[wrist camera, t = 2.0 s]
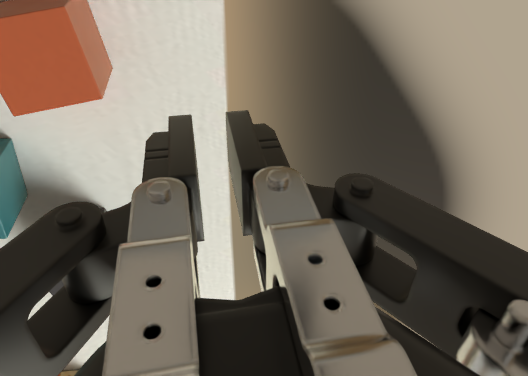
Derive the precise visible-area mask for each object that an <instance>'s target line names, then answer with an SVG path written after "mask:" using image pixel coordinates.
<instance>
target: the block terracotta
mask: <svg viewBox="0 0 528 376" xmlns="http://www.w3.org/2000/svg"><path fill="white" fill-rule="evenodd" d="M112 69H113V68H112V65H111V62H110V60H109V57H108V55H107V52H106V49H105V47H104V44H103V41H102V39H101V36H100V33H99V31H98V28H97V25H96V23H95V20H94V17H93V15H92V12H91V10H90V7H89V4H88V2H87V0H9V1H3V2H0V93H1V95H2V97H3V99H4V100H5V102H6V104H7V106H8V107H9V109H10V111H11V112H12V114H13V116H19V115H24V114H29V113H34V112H39V111H44V110H49V109H54V108H59V107H64V106H69V105H74V104H79V103H84V102H89V101H94V100H99V99H102V98H103V95H104V92H105V90H106V87H107V84H108V81H109V78H110V75H111V72H112Z"/></svg>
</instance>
